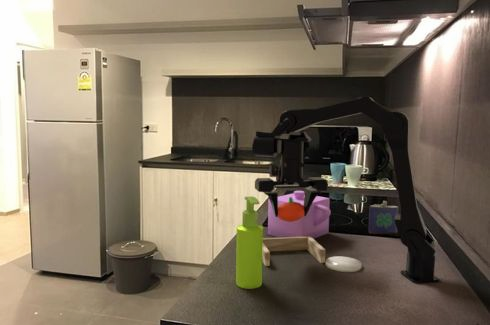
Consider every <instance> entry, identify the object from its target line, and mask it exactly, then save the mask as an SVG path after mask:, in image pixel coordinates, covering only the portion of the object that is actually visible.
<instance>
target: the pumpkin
mask: <svg viewBox="0 0 490 325" xmlns="http://www.w3.org/2000/svg"><path fill="white" fill-rule="evenodd" d="M304 214H305V212H304V207H303V206H302V205H301V204H300V203H298V202H293V199H292V197H290V198H289V202H287V203H283V204H280V205H279V206H278V218H279V219H281V220H283V221H287V222H294V221H297V220H299V219H301V218H302V217H303V216H304Z"/></svg>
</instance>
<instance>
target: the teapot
mask: <svg viewBox="0 0 490 325" xmlns="http://www.w3.org/2000/svg"><path fill="white" fill-rule="evenodd" d="M290 197H292V199H293V202H298V203H300V204H301V205H302V206H303V207H304V197H305V194H304V190H295V191H293V193H289V194H285V195H280V196H278V206H279V205H280V204H283V203H287V202H289V198H290ZM330 203H331V202H330V197H324V196H318V195H317V196H316V198H315V199H314V201H313V203H312V204H311V206H310V209H309V211H308V213H307V215H306V216H303V217H302V218H301V219H299V220H297V221H294V222H287V221H283V220H281V219H279V218H278V216H277V217H275V215H274V211H273V208H272V205H271V202H270V199H269V198H268V207H267V208H268V212H267V215H268V216H267V217H268V218H267V235H268V234H269V236H273V237H274V238H278V237H303V236H310V237H312V238H313V239H314V240H315V239H317V238H320V237H322V236H325V235H327V234H329V229H330V228H329V226H330V225H329V224H330V216H331V212H332V211H331V209H330Z"/></svg>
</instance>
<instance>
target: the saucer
mask: <svg viewBox="0 0 490 325" xmlns="http://www.w3.org/2000/svg"><path fill="white" fill-rule="evenodd" d="M324 264H325V266H326V268H328V269H330V270H332V271H336V272H342V273H355V272H358V271H360V270H361V269H362V266H363V265H362V262H361V261H360V260H359V259H357V258H353V257H349V256H337V255H336V256H330V257H328V258H325V263H324Z"/></svg>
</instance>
